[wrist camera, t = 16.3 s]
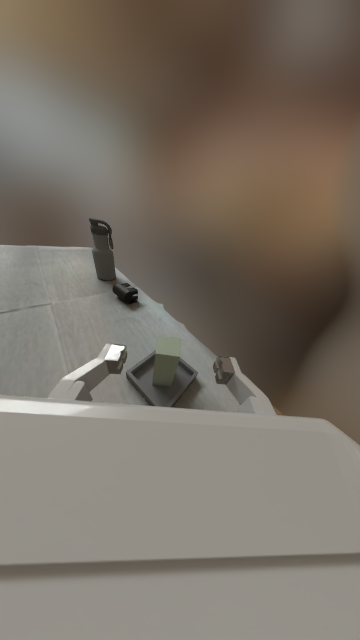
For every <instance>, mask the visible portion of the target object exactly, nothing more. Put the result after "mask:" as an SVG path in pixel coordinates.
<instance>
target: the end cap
mask: <svg viewBox="0 0 360 640" xmlns="http://www.w3.org/2000/svg"><path fill="white" fill-rule="evenodd" d="M128 286H130V285H129V284H128V283H125V284H119V283H116V284H115V285H114V286H113V292H114V293H115V294H116V295H117V296H118V297H120V298H121V299H122V300H124V301H125V302H126V303H128V304H131V303H134V302H137V299H138V296H133V295H135V294H138V291H137V289H135V288H126V287H128Z"/></svg>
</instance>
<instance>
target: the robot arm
mask: <svg viewBox="0 0 360 640" xmlns="http://www.w3.org/2000/svg"><path fill="white" fill-rule="evenodd" d="M126 349H127V347H126V345H119V344H111V343H107V344H106V345H105V346H104V348H103V350H102V351H101V353H100V354H99V356H98V357H97V359H93V360H92V361H90V362H89V363H87V364H85V365H84V366H82V367H80V368H79V369H77V370H75V371H74V372H72V373H71V374H69V375H67V376H66V377H64V378H62V379H61V380H60V382H59V383H58V384H57V385H56V387H55V388H54V389H53V391H52V392H51V393H50V394H49V396H48V397H47V398H38V397H24V396H10V395H0V640H360V446H359V445H358V444H357V443H356V442H355V441H353V440H352V439H351V438H350V437H348V436H347V435H346V434H344V433H343V432H342V431H341V430H339V429H338V428H337V427H335V426H334V425H333V424H331V423H330V422H328V421H326V420H324V419H319V418H306V417H292V416H279V415H276V413H275V411H274V409H273V407H272V405H271V403H270V401H269V399H268V397H266V396H265V395H264V394H263V393H262V392H261V391H260V390H259V389H258V388H257V387H256V386H255V385H254V384H253V383H252V382H251V381H250V380H249V379H248V378H247V377H246V376H245V375H244V374H242V373H241V371H240V368H239V366H238V364H237V361H236V359H235V358H231V357H223V356H218V357H217V358H216V359H217V361H215V362H214V365H213V369H214V372H215V373H216V376H215V378H216V382H217V384H225V385H226V386H227V387H228V389H229V390H230V392H231V393H232V394H233V396H234V397H235V398H236V400H237V401H238V402H239V404H240V405H241V406H240V407H239V408H237V410H236V411H237V412H226V411H212V410H199V409H186V408H172V407H159V406H145V405H132V404H118V403H105V402H91V401H92V397H91V395H90V393H89V392H90V391H91V390H92V389H93V388H95V387H96V386H97V385H98V384H99V383H100V382H101V381H102V380H104V379H105V378H106V377H107V376H108V375H109V374H121V371H122V369H123V364H124V363H125V361H126V358H127V351H126Z"/></svg>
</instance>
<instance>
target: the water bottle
mask: <svg viewBox="0 0 360 640" xmlns="http://www.w3.org/2000/svg"><path fill="white" fill-rule="evenodd" d="M89 221H90V222H91V232H92V235H93V240H94V245H95V247H94V248H93V249H92V253H93V258H94V263H95V268H96V273H97V277H98V278H99V279H101V280H113V279H115V278H116V274H115V266H114V257H113V252H112V250H110V249H109V244H110V247H111V249H113V242H112V238H111V234H112V230H111V228H110V226H109V225H108V224H107V223H106V222H104V221H103V220H98V219H92V218H89ZM98 223H101V224H104V225H106V226H107V228H108V230H107V229H106V228H105V227H102V226H98ZM108 233H109V244H108V237H107V236H108ZM110 240H111V241H110Z"/></svg>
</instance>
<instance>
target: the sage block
mask: <svg viewBox="0 0 360 640" xmlns="http://www.w3.org/2000/svg"><path fill="white" fill-rule="evenodd" d="M180 348H181V339H179V338H172V337H165V336H159V339H158V344H157V349H156V353H155V362H154V372H153V381H152V385H161V386H169V387H171V386H172V382H173V379H174V376H175V372H176V369H177V366H178V363H179V359H180Z"/></svg>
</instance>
